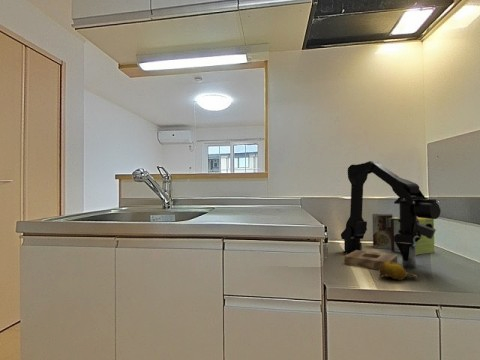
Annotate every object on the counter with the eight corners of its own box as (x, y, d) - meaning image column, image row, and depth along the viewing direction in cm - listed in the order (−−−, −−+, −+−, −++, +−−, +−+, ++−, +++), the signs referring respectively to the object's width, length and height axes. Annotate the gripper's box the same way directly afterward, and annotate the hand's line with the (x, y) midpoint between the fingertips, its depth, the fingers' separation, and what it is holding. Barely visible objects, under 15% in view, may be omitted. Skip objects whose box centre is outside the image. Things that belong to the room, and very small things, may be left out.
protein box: (435, 252, 139) (434, 217, 139) (410, 255, 133) (410, 219, 133) (413, 248, 148) (413, 215, 148) (390, 251, 142) (389, 217, 142)
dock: (344, 263, 121) (344, 256, 121) (356, 256, 132) (356, 249, 132) (388, 270, 111) (388, 262, 111) (397, 262, 122) (397, 255, 122)
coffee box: (393, 246, 151) (392, 213, 151) (393, 249, 145) (393, 215, 145) (373, 245, 155) (372, 213, 155) (372, 247, 149) (372, 214, 149)
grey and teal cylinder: (401, 268, 114) (400, 241, 114) (403, 265, 118) (403, 239, 118) (414, 270, 111) (414, 242, 112) (416, 267, 115) (416, 240, 115)
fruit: (420, 278, 101) (420, 263, 101) (401, 283, 95) (401, 267, 95) (389, 270, 110) (389, 256, 110) (369, 275, 104) (369, 260, 104)
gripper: (429, 220, 102) (430, 267, 102) (436, 215, 117) (437, 256, 117) (393, 218, 109) (393, 262, 109) (404, 213, 124) (404, 252, 124)
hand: (408, 258), depth 115 cm, fingers open, 9 cm apart
